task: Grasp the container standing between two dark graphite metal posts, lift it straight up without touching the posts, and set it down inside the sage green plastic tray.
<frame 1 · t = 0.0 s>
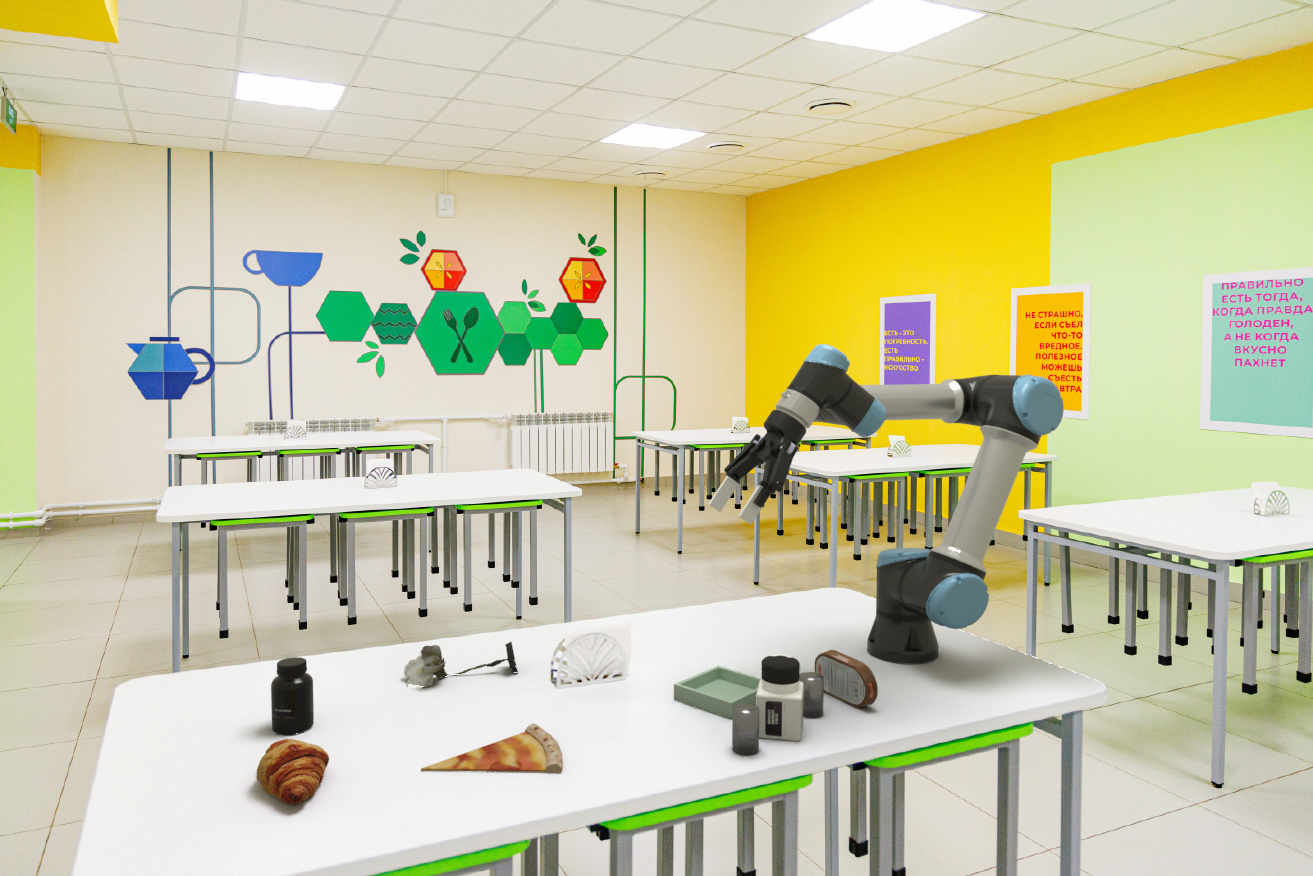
hand: (728, 514, 162), 36 cm above the table, tool tilted 35°, fingers open, 13 cm apart
artificial flower: (461, 681, 178), on the table
supplement bottle: (293, 729, 154), on the table
tin: (843, 700, 167), on the table
tray: (724, 698, 168), on the table
croissant: (294, 783, 135), on the table
pizza slice: (501, 754, 146), on the table
post 2: (810, 713, 161), on the table
container: (779, 732, 153), on the table
post 1: (745, 749, 146), on the table
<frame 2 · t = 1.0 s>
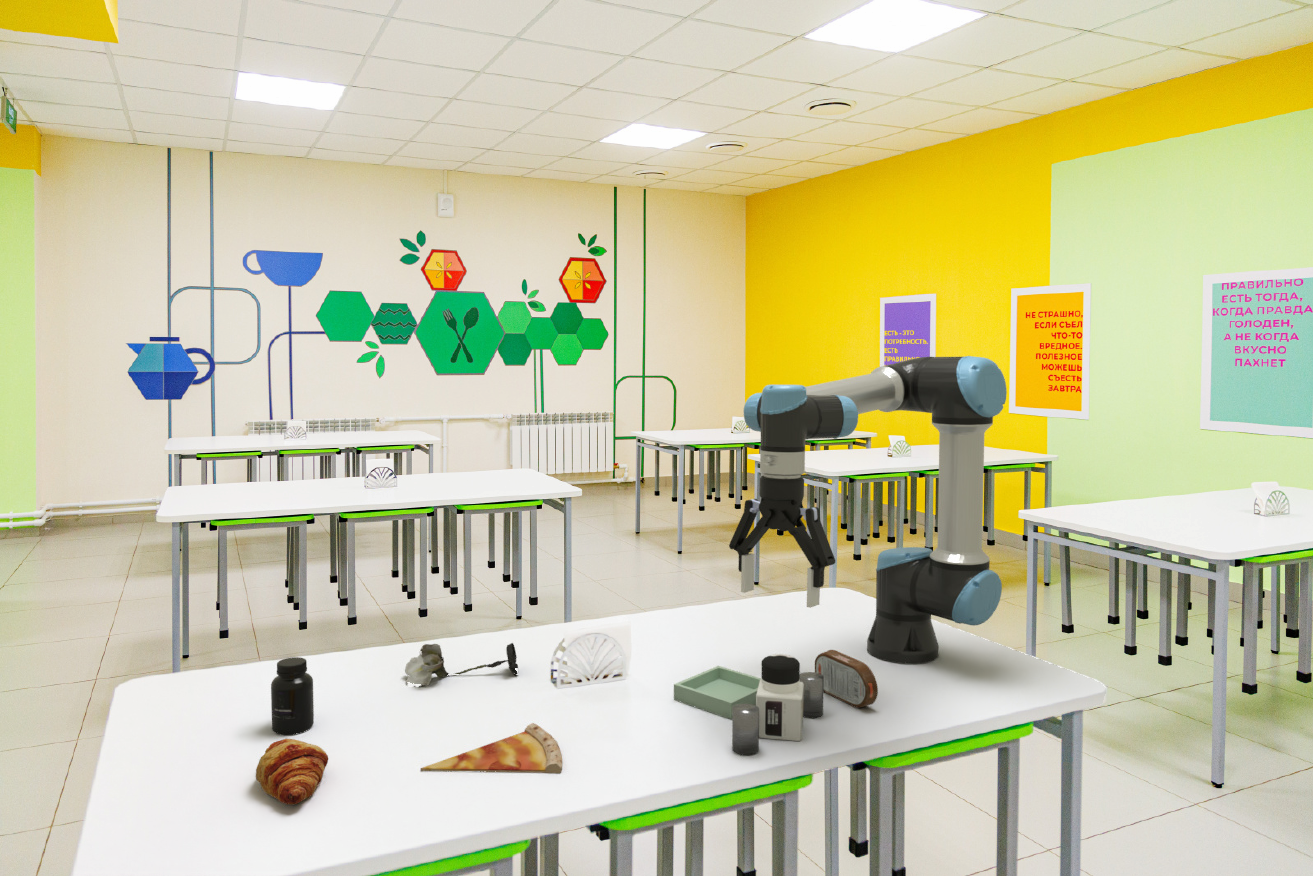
hand: (779, 598, 152), 23 cm above the table, tool pointing down, fingers open, 13 cm apart
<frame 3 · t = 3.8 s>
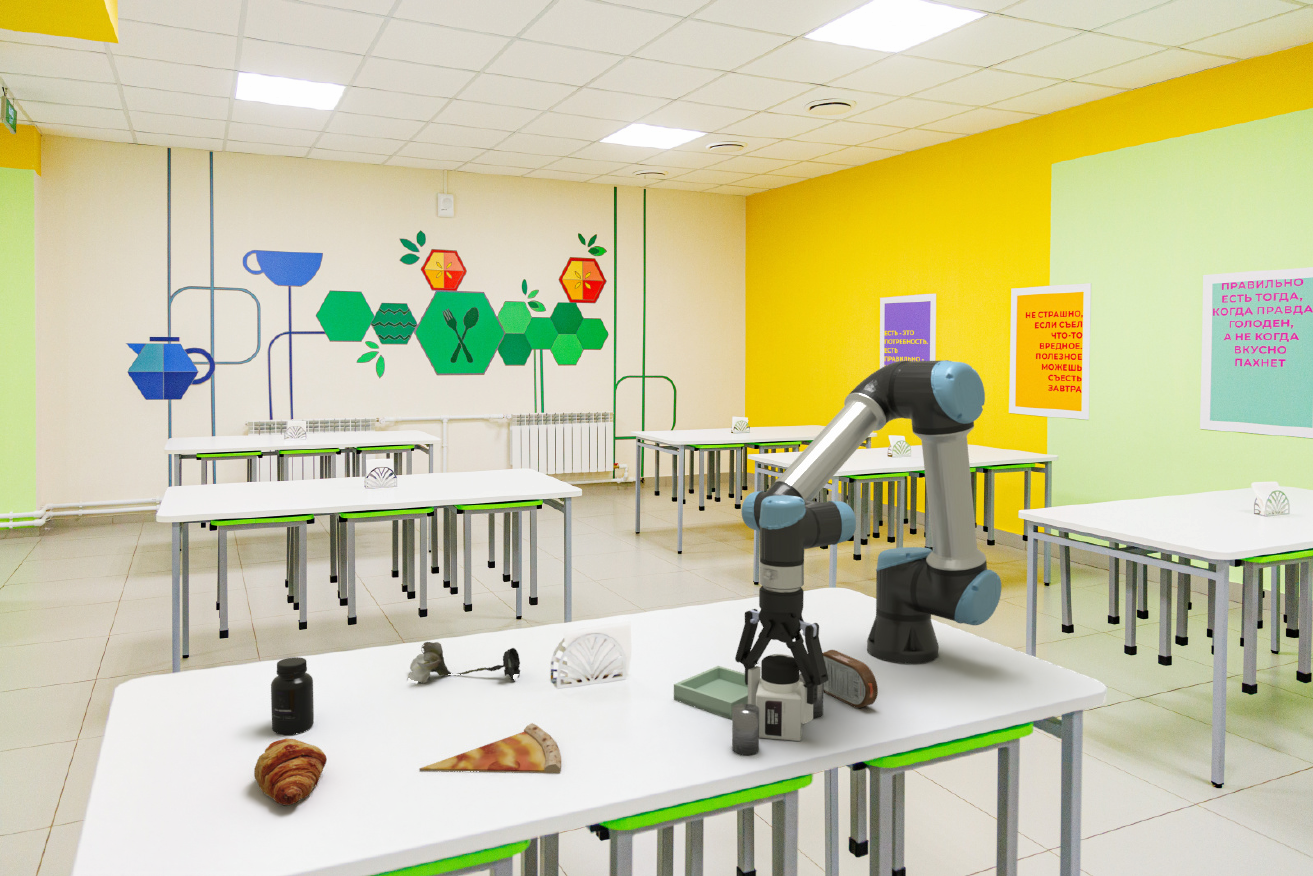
hand: (779, 712, 153), 3 cm above the table, tool pointing down, fingers closed on container, 10 cm apart
container: (779, 731, 153), on the table, touching gripper
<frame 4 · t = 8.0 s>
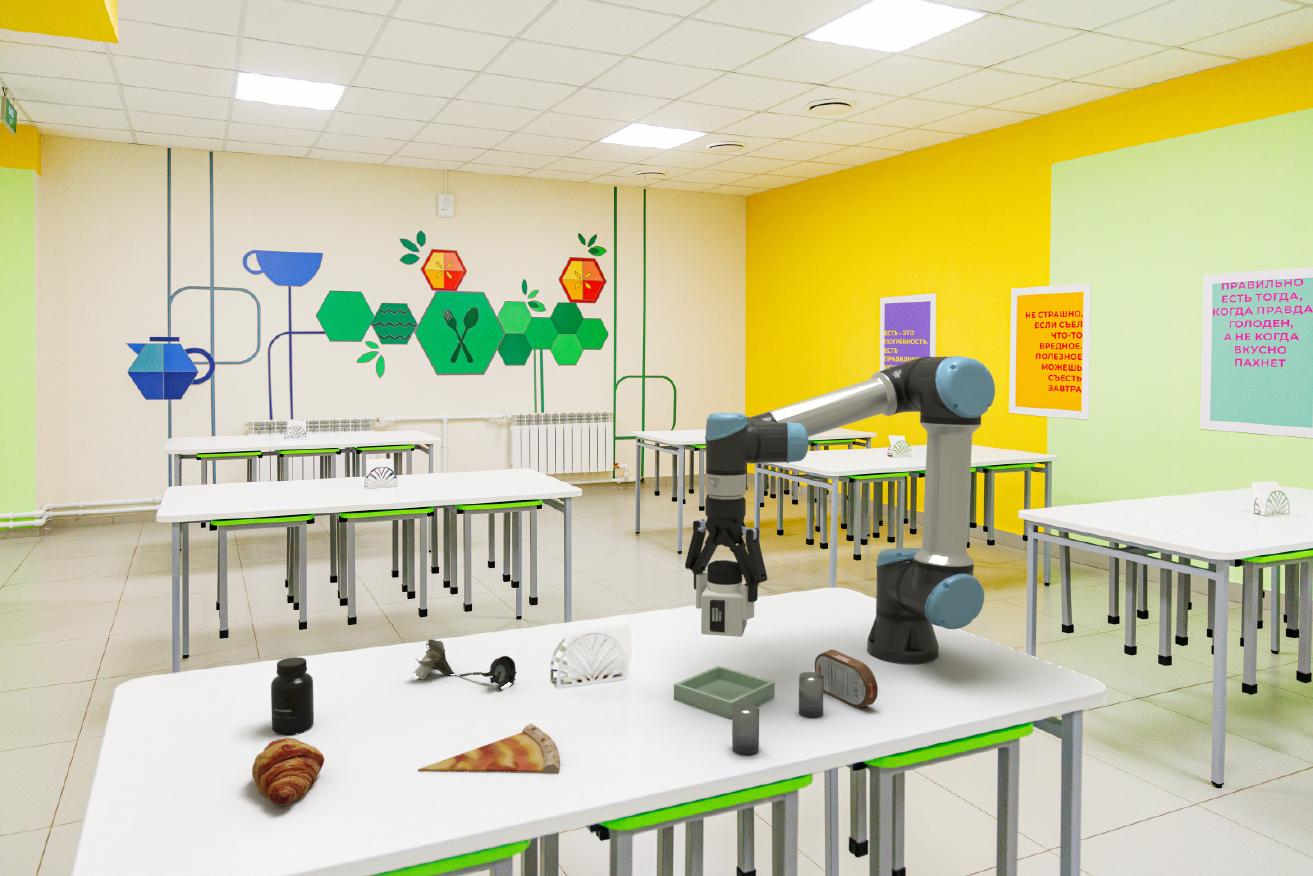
hand: (724, 612, 166), 17 cm above the table, tool pointing down, fingers closed on container, 10 cm apart
container: (724, 630, 166), point 13 cm above the table, touching gripper
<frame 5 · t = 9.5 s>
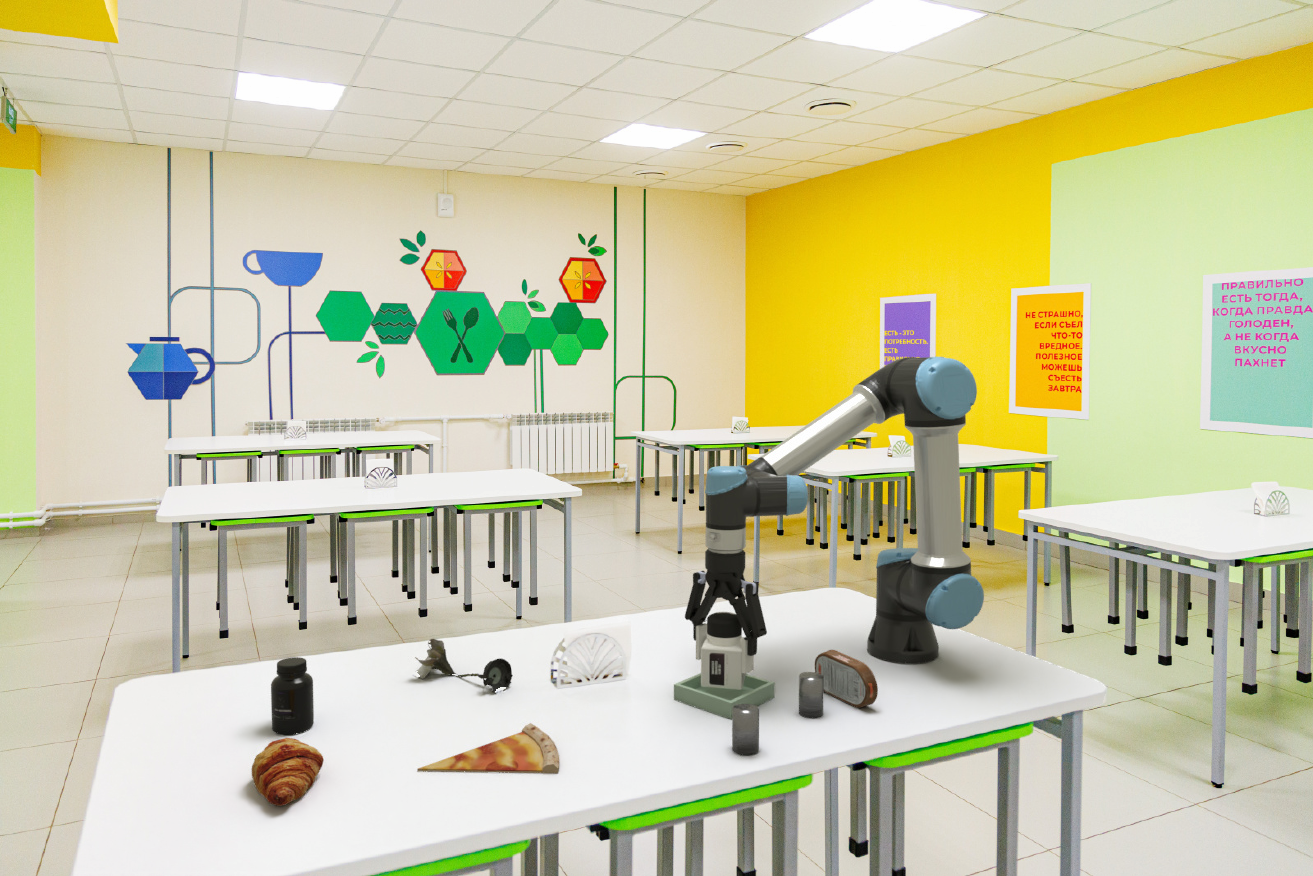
hand: (724, 664, 167), 7 cm above the table, tool pointing down, fingers closed on container, 10 cm apart
container: (723, 682, 167), point 3 cm above the table, touching gripper
when the fingers open (5 cm above the table, at t = 11.0 s): container stays where it is, resting on tray.
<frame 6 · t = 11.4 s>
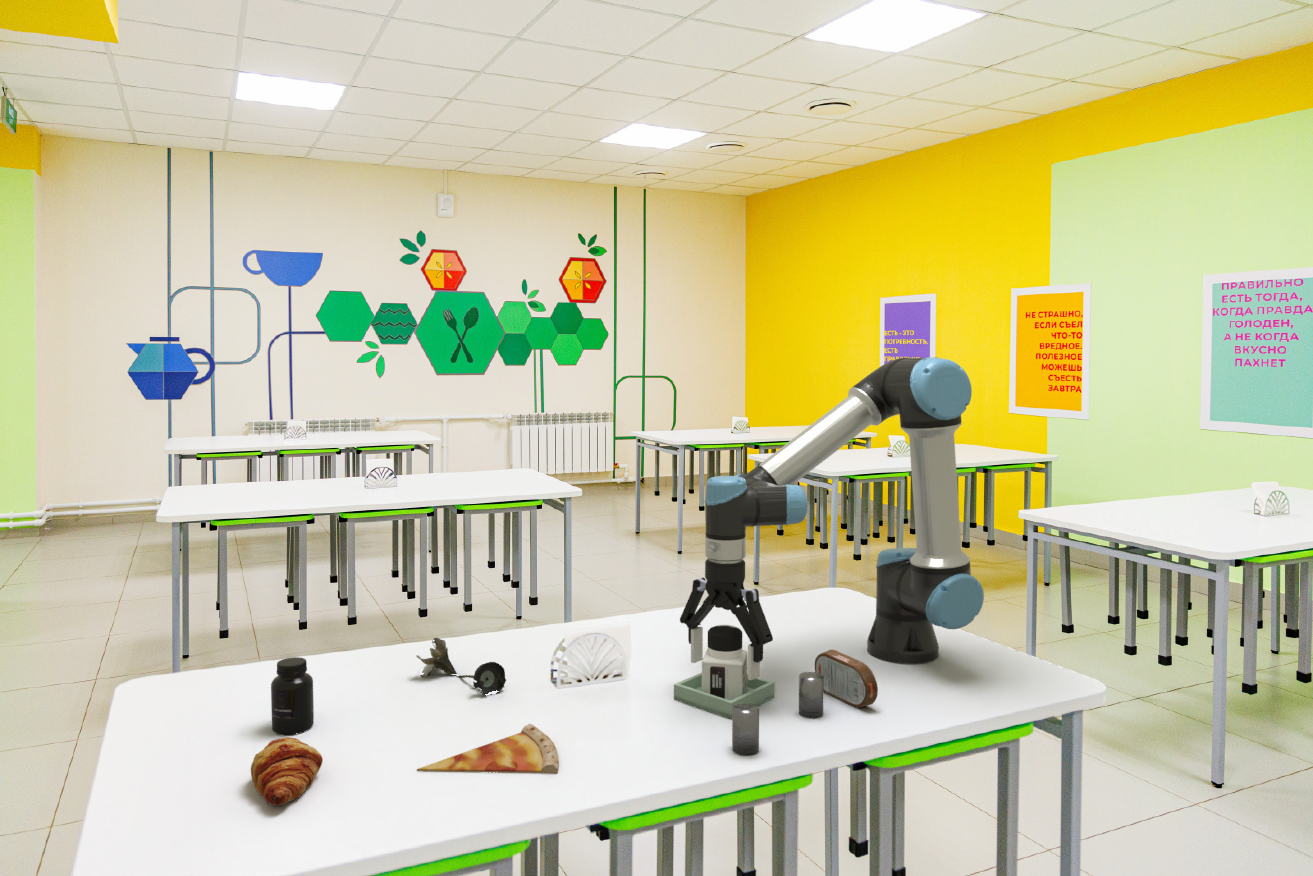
hand: (724, 669, 167), 6 cm above the table, tool pointing down, fingers open, 13 cm apart
container: (724, 695, 167), point 1 cm above the table, touching tray
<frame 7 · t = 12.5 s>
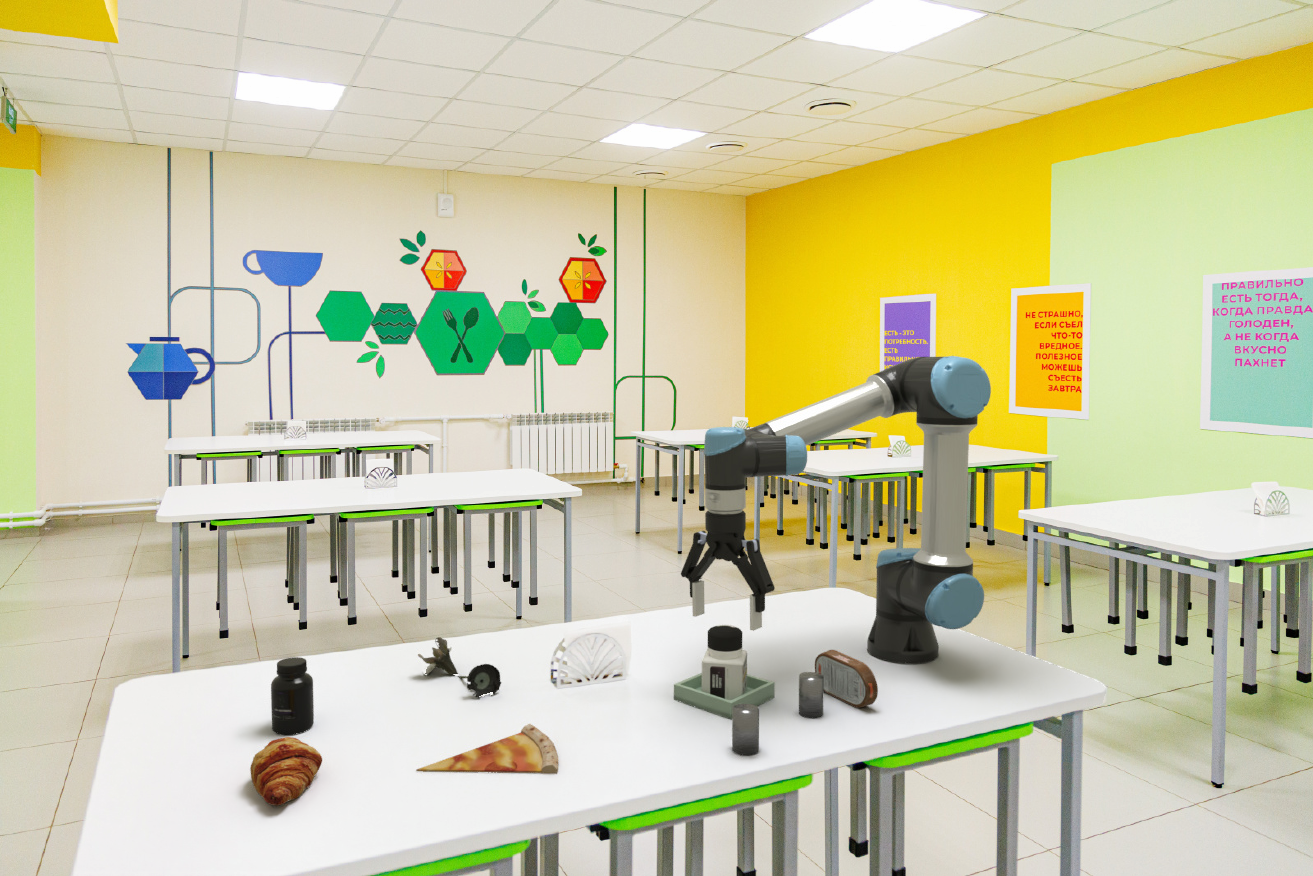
hand: (726, 621, 166), 15 cm above the table, tool pointing down, fingers open, 13 cm apart
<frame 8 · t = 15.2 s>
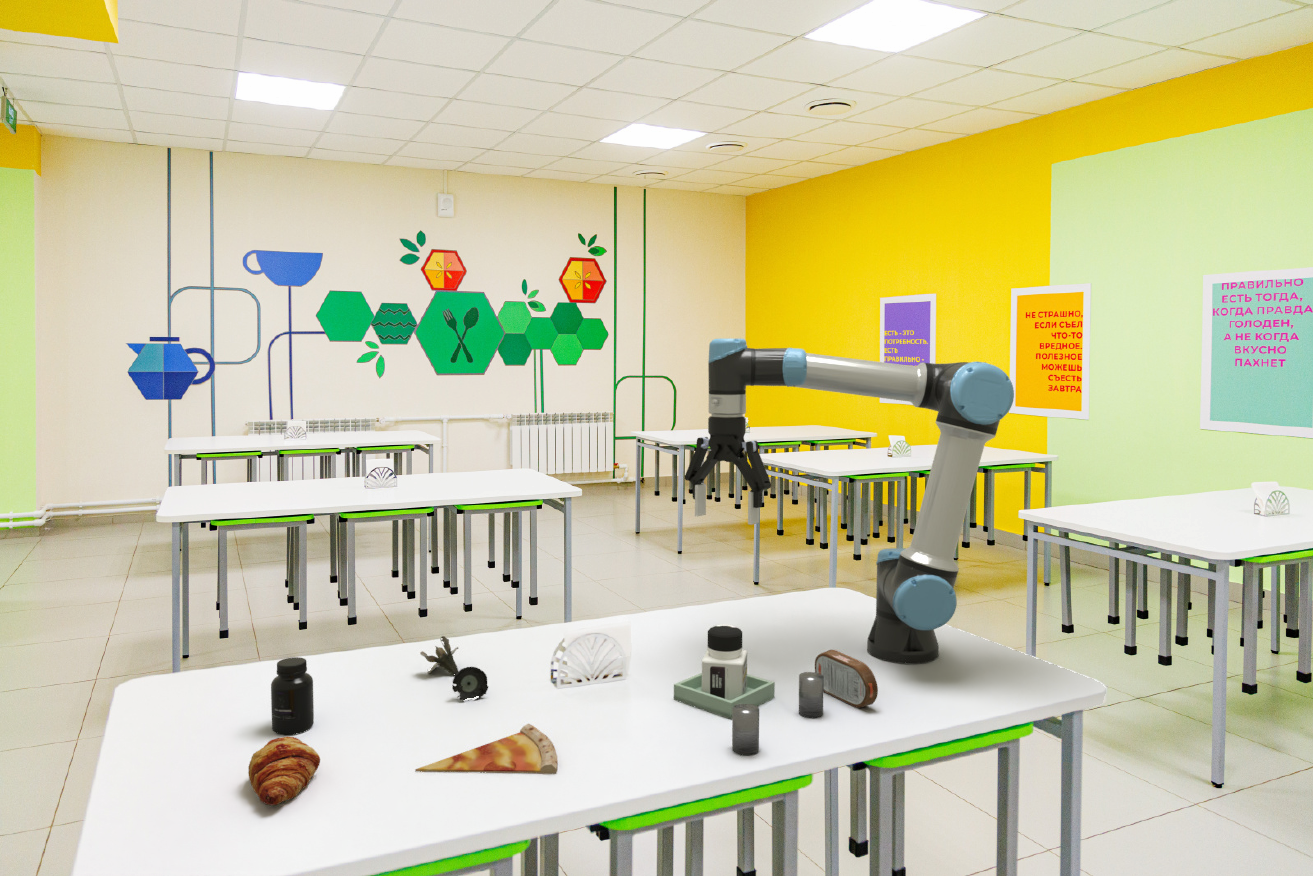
hand: (726, 519, 180), 32 cm above the table, tool pointing down, fingers open, 13 cm apart
at the end: container inside the target area on the tray (0.1 cm from its centre), point 0.6 cm above the tray's base; post 2 moved 0.0 cm from its start; post 1 moved 0.0 cm from its start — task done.
